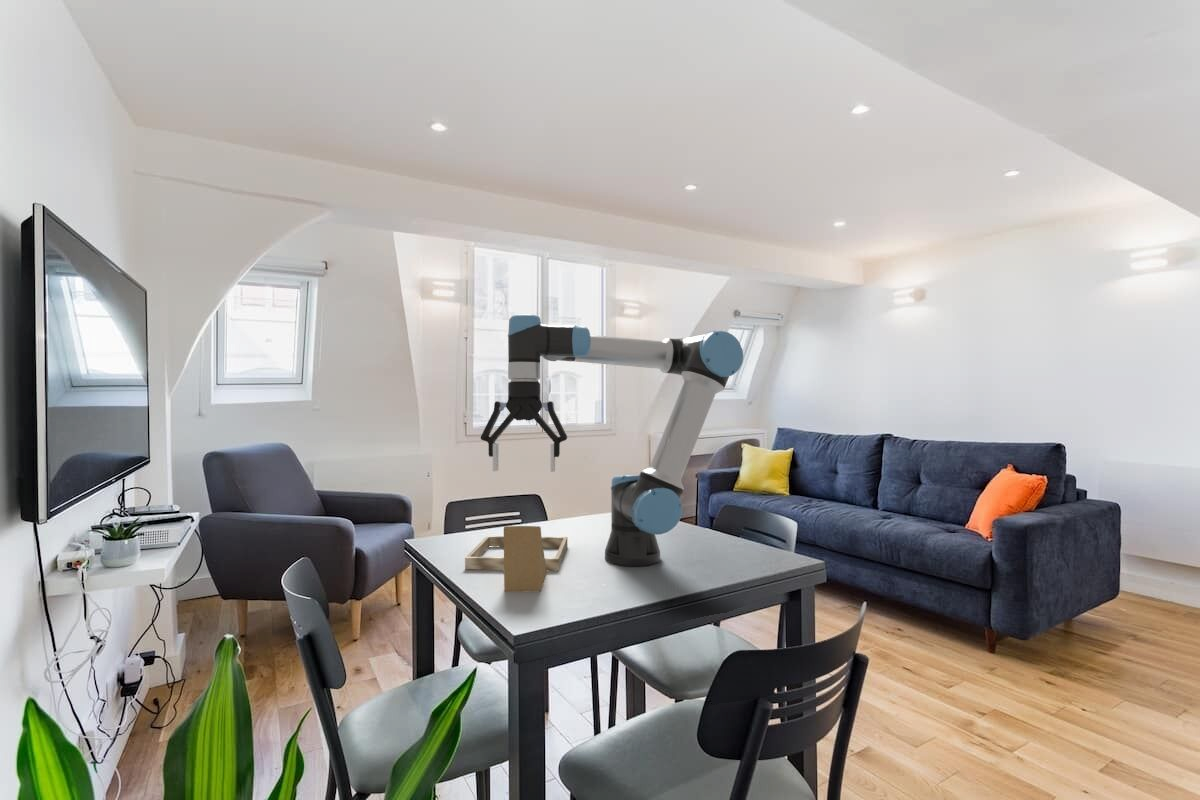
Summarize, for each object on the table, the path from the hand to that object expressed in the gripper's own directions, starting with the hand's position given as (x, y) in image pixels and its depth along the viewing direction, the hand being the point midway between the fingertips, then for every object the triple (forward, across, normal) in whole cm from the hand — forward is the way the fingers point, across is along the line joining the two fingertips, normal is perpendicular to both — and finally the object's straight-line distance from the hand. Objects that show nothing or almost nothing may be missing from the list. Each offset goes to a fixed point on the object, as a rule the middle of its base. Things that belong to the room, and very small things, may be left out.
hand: (524, 470), depth 140 cm
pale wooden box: (+27, +5, -23) cm, 36 cm away
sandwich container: (+27, 0, -2) cm, 27 cm away
